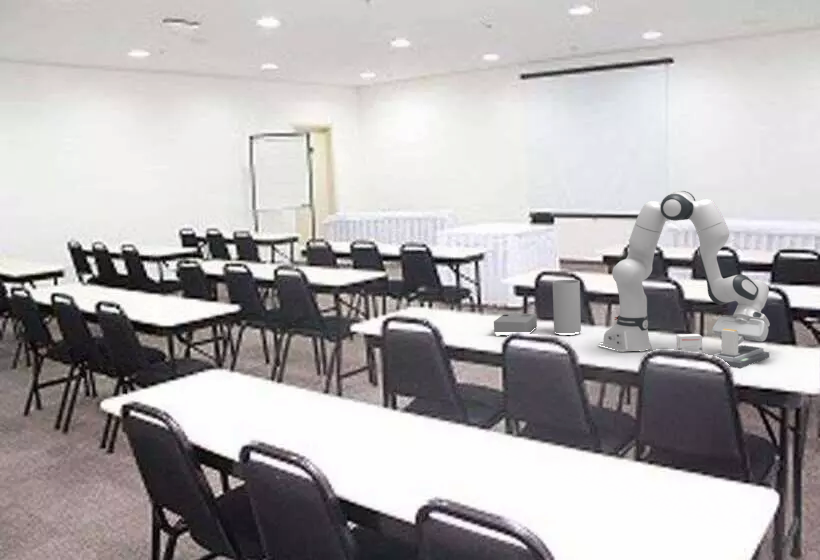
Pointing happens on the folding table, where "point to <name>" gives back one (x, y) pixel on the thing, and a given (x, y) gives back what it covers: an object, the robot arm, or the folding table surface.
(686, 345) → the ink box
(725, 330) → the fader knob
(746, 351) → the fader console
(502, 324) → the projector
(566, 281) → the cylinder vase
